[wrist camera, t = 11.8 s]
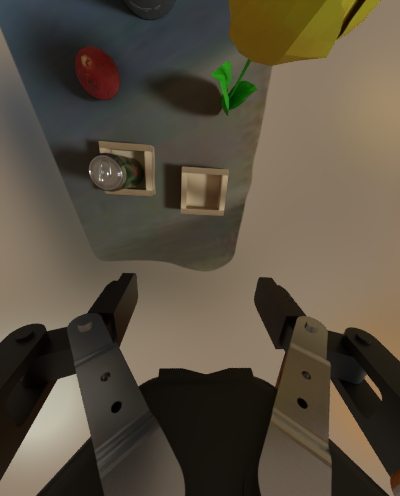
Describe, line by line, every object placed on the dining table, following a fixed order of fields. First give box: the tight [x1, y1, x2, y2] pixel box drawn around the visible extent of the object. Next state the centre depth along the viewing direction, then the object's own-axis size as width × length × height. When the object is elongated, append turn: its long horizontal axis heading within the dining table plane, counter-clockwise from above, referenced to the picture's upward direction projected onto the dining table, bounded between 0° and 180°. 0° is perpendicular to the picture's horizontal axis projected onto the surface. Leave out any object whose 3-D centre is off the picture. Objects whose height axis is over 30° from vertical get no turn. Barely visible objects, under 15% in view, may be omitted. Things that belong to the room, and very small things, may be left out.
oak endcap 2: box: [181, 167, 229, 216], centre depth 37 cm, size 8×8×4 cm
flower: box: [211, 0, 381, 115], centre depth 19 cm, size 9×8×30 cm
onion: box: [75, 47, 120, 101], centre depth 28 cm, size 6×6×8 cm
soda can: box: [89, 153, 144, 192], centre depth 31 cm, size 5×5×12 cm
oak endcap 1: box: [99, 141, 155, 196], centre depth 35 cm, size 8×8×4 cm
